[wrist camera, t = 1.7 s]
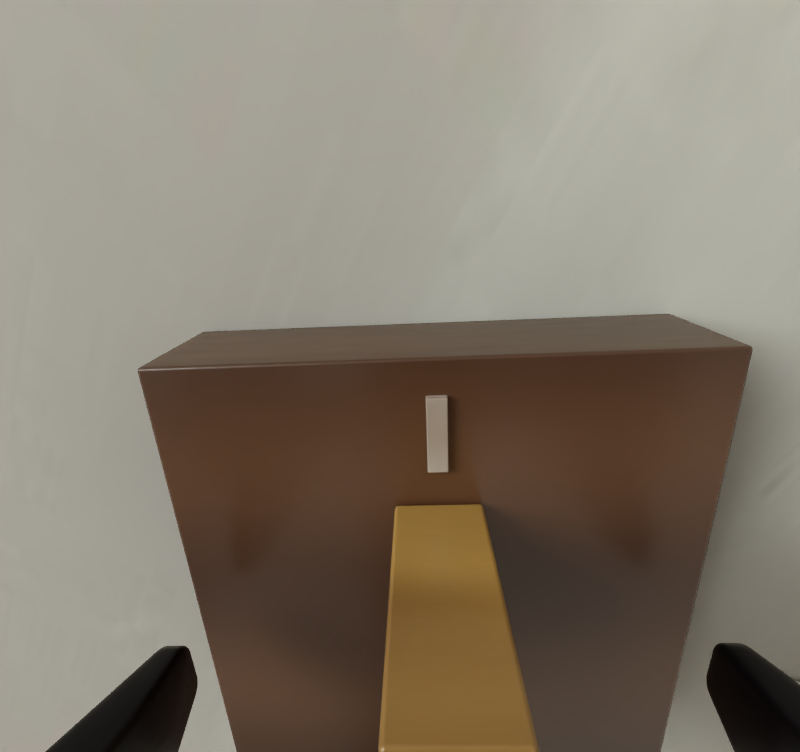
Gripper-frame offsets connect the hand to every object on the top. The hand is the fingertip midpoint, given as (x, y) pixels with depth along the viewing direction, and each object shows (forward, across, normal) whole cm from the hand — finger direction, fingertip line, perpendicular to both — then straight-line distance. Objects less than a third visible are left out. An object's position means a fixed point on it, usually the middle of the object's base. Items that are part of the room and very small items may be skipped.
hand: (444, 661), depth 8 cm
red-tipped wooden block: (+1, 0, 0) cm, 1 cm away
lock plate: (+4, 0, 0) cm, 4 cm away
